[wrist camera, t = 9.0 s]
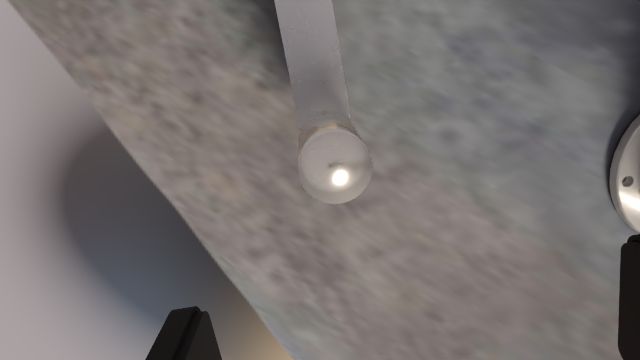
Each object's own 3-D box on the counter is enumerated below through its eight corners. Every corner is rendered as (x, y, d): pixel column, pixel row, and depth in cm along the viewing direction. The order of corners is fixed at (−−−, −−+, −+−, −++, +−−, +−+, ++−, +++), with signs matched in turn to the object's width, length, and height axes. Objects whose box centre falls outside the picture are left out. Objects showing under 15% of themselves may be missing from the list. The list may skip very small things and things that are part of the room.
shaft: (308, -144, 24) (311, -241, 16) (355, 150, 30) (377, 196, 21) (246, -132, 25) (217, -222, 16) (304, 159, 30) (305, 209, 21)
